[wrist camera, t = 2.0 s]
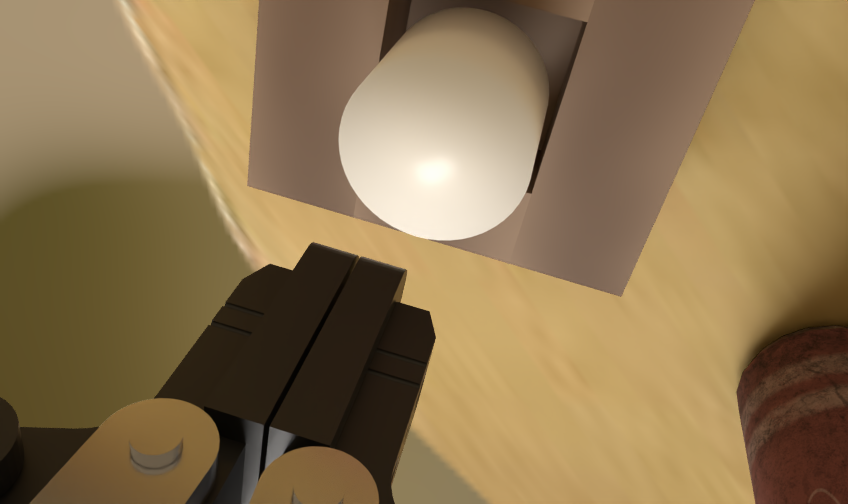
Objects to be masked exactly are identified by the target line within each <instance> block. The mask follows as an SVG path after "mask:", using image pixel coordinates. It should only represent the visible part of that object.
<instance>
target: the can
mask: <svg viewBox="0 0 848 504" xmlns="http://www.w3.org/2000/svg"><path fill="white" fill-rule="evenodd" d="M737 399H738V407H739V414H740V419H741V425H742V430H743V436H744V442H745V447H746V453H747V458H748V464H749V469H750V475H751V481H752V486H753V492H754V497H755V503H756V504H848V327H843V326H836V325H835V326H824V327H812V328H806V329H803V330H800V331H797V332H794V333H791V334H788V335H785V336H783V337H781V338H779V339H778V340H776V341H775V342H773V343H771V344H770V345H768V346H767V347H765V348H764V349H763V350H762V351H761V352H760V353H759V354H758V355H757V356H756V357H755V359H754V360H753V361H752V362H751V363H750V364H749V366H748V367H747V368H746V369H745V370H744V372H743V374H742V377H741V380H740V383H739V386H738V389H737Z"/></svg>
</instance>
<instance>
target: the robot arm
mask: <svg viewBox="0 0 848 504" xmlns="http://www.w3.org/2000/svg"><path fill="white" fill-rule="evenodd" d="M406 275H407V270H406V269H402V268H399V267H396V266H392V265H389V264H385V263H382V262H379V261H375V260H372V259H369V258H365V257H360V259H359V256H358V255H355V254H351V253H348V252H344V251H341V250H338V249H334V248H331V247H328V246H324V245H321V244H318V243H314V242H313V243H311V244H310V245H309V247H308V248H307V250H306V251H305V253H304V254H303V256H302V257H301V259H300V260H299V262H298V263H297V265H296V266H295V268H294V269H293V271H292V270H289V269H286V268H282V267H279V266H276V265H272V264H269V265H267V266H265V267H263V268H262V269H260V270H258V271H256V272H254V273H253V274H251V275H249V276H247V277H246V278H244V279H243V280H242V281H241V282H240V283H239V285H238V286H237V288H236V289H235V290H234V292H233V293H232V294H231V296H230V297H229V298H228V300H227V301H226V304H225V306H224V307H223V306H222V308H221V309H220V310H219V312H218V313H217V314H216V316H215V317H214V319H213V320H212V323H211V325H208V327H207V328H206V329H205V331H204V332H203V333H202V335H201V336H200V337H199V339H198V340H197V341H196V343H195V344H194V345H193V347H192V348H191V349H190V351H189V352H188V354H187V355H186V356H185V358H184V359H183V360H182V362H181V363H180V364H179V366H178V367H177V368H176V370H175V371H174V372H173V374H172V375H171V377H170V378H169V379H168V381H167V382H166V384H165V385H164V386H163V387H162V389H161V390H160V391H159V393H158V394H157V395H156V396H155V398H154V399H148V400H144V401H140V402H136V403H134V404H131V405H128V406H126V407H124V408H122V409H120V410H119V411H117V412H116V413H114V414H113V415H111V416H110V417H109V418H108V419H107V420H106V421H105V422H104V423H103V424H102V425H101V426H100V427H94V428H83V429H65V428H32V427H20V426H19V421H18V417H17V414H16V412H15V411H14V409H13V407H12V406H11V405H10V404H9V403H8V402H6V400H4V399H2V398H0V504H395V503H394V500H393V496H392V489H391V485H392V483H393V479H394V476H395V473H396V470H397V467H398V464H399V461H400V457H401V454H402V451H403V448H404V445H405V442H406V438H407V435H408V432H409V429H410V426H411V423H412V420H413V417H414V413H415V410H416V407H417V404H418V400H419V397H420V393H421V389H422V386H423V382H424V379H425V375H426V371H427V368H428V364H429V361H430V357H431V353H432V350H433V346H434V343H435V339H436V336H435V332H434V328H433V324H432V320H431V315H430V312H429V311H426V310H423V309H419V308H416V307H413V306H409V305H406V304H403V303H400V302H401V298H402V294H403V289H404V285H405V281H406Z"/></svg>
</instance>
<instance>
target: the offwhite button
mask: <svg viewBox="0 0 848 504" xmlns="http://www.w3.org/2000/svg"><path fill="white" fill-rule="evenodd" d="M548 101H549V81H548V75H547V71H546V68H545V65H544V62H543V60H542V57H541V55H540V53H539V51H538V50H537V48H536V47H535V45H534V44H533V42H532V41H531V40H530V39H529V37H528V36H527V35H526V34H525V33H524V32H523V31H522V30H521V29H519V28H518V27H517V26H516V25H515V24H513V23H512V22H510V21H509V20H507V19H505V18H503V17H501V16H499V15H497V14H495V13H492V12H489V11H486V10H481V9H476V8H464V7H462V8H451V9H446V10H441V11H438V12H436V13H433V14H430V15H428V16H426V17H425V18H423V19H421V20H419V21H418V22H417V23H415V24H414V25H413V26H412V27H411V28H409V29H408V30H407V31H406V32H405V33H404V35H403V36H402V37H401V38H400V39H399V40H398V41H397V43H396V44H395V45H394V46H393V47H392V48H391V50H390V51H389V52H388V53H387V54H386V55H385V57H384V58H383V59H382V60H381V61H380V62H379V63H378V65H377V66H376V67H375V68H374V69H373V70H372V72H371V73H370V74H369V75H368V76H367V77H366V78H365V80H364V81H363V82H362V83H361V84H360V85H359V87H358V88H357V89H356V91H355V92H354V93H353V94H352V96H351V98H350V99H349V101H348V103H347V105H346V107H345V110H344V112H343V115H342V118H341V123H340V128H339V152H340V157H341V162H342V166H343V169H344V172H345V174H346V177H347V179H348V181H349V183H350V185H351V186H352V188H353V190H354V191H355V193H356V194H357V196H358V197H359V198H360V199H361V201H362V202H363V203H364V204H365V205H366V206H367V207H368V208H369V209H370V210H371V211H372V212H373V213H374V214H375V215H376V216H378V217H379V218H380V219H382V220H383V221H384V222H386V223H388V224H389V225H391V226H392V227H394V228H396V229H399V230H401V231H403V232H405V233H408V234H411V235H413V236H417V237H421V238H425V239H432V240H459V239H465V238H469V237H473V236H476V235H479V234H482V233H484V232H486V231H488V230H490V229H492V228H494V227H495V226H497V225H498V224H500V223H501V222H503V221H504V220H505V219H506V218H507V217H508V216H509V215H510V214H511V213H512V212H513V211H514V210H515V209H516V207H517V206H518V205H519V203H520V202H521V200H522V198H523V197H524V195H525V193H526V191H527V188H528V186H529V183H530V179H531V175H532V171H533V166H534V162H535V158H536V154H537V150H538V145H539V141H540V137H541V133H542V128H543V124H544V120H545V116H546V111H547V107H548Z"/></svg>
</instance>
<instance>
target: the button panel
mask: <svg viewBox="0 0 848 504" xmlns="http://www.w3.org/2000/svg"><path fill="white" fill-rule="evenodd" d="M754 1H755V0H259V11H258V27H257V43H256V59H255V74H254V90H253V106H252V122H251V137H250V153H249V169H248V184H247V186H249V187H253V188H256V189H260V190H263V191H266V192H270V193H273V194H276V195H280V196H283V197H287V198H290V199H293V200H297V201H300V202H303V203H307V204H310V205H314V206H317V207H320V208H324V209H327V210H330V211H334V212H337V213H341V214H344V215H347V216H351V217H354V218H357V219H361V220H364V221H368V222H371V223H374V224H378V225H381V226H384V227H388V228H391V229H394V230H398V231H401V230H399V229H396V228H394V227H392V226H391V225H389V224H388V223H386V222H384V221H383V220H382V219H380V218H379V217H378V216H376V215H375V214H374V213H373V212H372V211H371V210H370V209H369V208H368V207H367V206H366V205H365V204H364V203H363V202H362V201H361V199H360V198H359V197H358V196H357V194H356V193H355V191H354V190H353V188H352V186H351V185H350V183H349V181H348V179H347V177H346V174H345V172H344V169H343V166H342V162H341V157H340V152H339V128H340V123H341V118H342V115H343V112H344V110H345V107H346V105H347V103H348V101H349V99H350V98H351V96H352V94H353V93H354V92H355V91H356V89H357V88H358V87H359V85H360V84H361V83H362V82H363V81H364V80H365V78H366V77H367V76H368V75H369V74H370V73H371V72H372V70H373V69H374V68H375V67H376V66H377V65H378V63H379V62H380V61H381V60H382V59H383V58H384V57H385V55H386V54H387V53H388V52H389V51H390V50H391V48H392V47H393V46H394V45H395V44H396V43H397V41H398V40H399V39H400V38H401V37H402V36H403V35H404V33H405V32H406V31H407V30H408V29H409V28H411V27H412V26H413V25H414V24H415V23H417V22H418V21H419V20H421V19H423V18H425V17H426V16H428V15H430V14H433V13H436V12H438V11H441V10H446V9H451V8H462V7H464V8H476V9H481V10H486V11H489V12H492V13H495V14H497V15H499V16H501V17H503V18H505V19H507V20H509V21H510V22H512V23H513V24H515V25H516V26H517V27H518V28H519V29H521V30H522V31H523V32H524V33H525V34H526V35H527V36H528V37H529V39H530V40H531V41H532V42H533V44H534V45H535V47H536V48H537V50H538V51H539V53H540V55H541V57H542V60H543V62H544V65H545V68H546V71H547V75H548V81H549V101H548V107H547V111H546V116H545V120H544V124H543V128H542V133H541V137H540V141H539V145H538V150H537V154H536V158H535V162H534V166H533V171H532V175H531V179H530V183H529V186H528V188H527V191H526V193H525V195H524V197H523V198H522V200H521V202H520V203H519V205H518V206H517V207H516V209H515V210H514V211H513V212H512V213H511V214H510V215H509V216H508V217H507V218H506V219H505V220H504V221H503V222H501V223H500V224H498V225H497V226H495V227H494V228H492V229H490V230H488V231H486V232H484V233H482V234H479V235H476V236H473V237H469V238H465V239H459V240H432V239H428V240H432V241H435V242H438V243H442V244H445V245H448V246H452V247H455V248H459V249H462V250H465V251H469V252H472V253H475V254H479V255H482V256H486V257H489V258H492V259H496V260H499V261H502V262H506V263H509V264H513V265H516V266H519V267H523V268H526V269H529V270H533V271H536V272H540V273H543V274H546V275H550V276H553V277H556V278H560V279H563V280H567V281H570V282H573V283H577V284H580V285H583V286H587V287H590V288H594V289H597V290H600V291H604V292H607V293H610V294H614V295H617V296H622V294H623V292H624V289H625V287H626V285H627V283H628V280H629V278H630V276H631V274H632V272H633V269H634V267H635V265H636V263H637V261H638V258H639V256H640V254H641V252H642V249H643V247H644V245H645V243H646V241H647V238H648V236H649V234H650V232H651V229H652V227H653V225H654V223H655V221H656V218H657V216H658V214H659V212H660V210H661V207H662V205H663V203H664V201H665V198H666V196H667V194H668V192H669V190H670V187H671V185H672V183H673V181H674V178H675V176H676V174H677V172H678V170H679V167H680V165H681V163H682V161H683V159H684V156H685V154H686V152H687V150H688V147H689V145H690V143H691V141H692V139H693V136H694V134H695V132H696V130H697V127H698V125H699V123H700V121H701V119H702V116H703V114H704V112H705V110H706V108H707V105H708V103H709V101H710V99H711V96H712V94H713V92H714V90H715V88H716V85H717V83H718V81H719V79H720V76H721V74H722V72H723V70H724V68H725V65H726V63H727V61H728V59H729V57H730V54H731V52H732V50H733V48H734V45H735V43H736V41H737V39H738V37H739V34H740V32H741V30H742V28H743V25H744V23H745V21H746V19H747V17H748V14H749V12H750V10H751V8H752V6H753V3H754ZM401 232H403V231H401Z"/></svg>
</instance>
